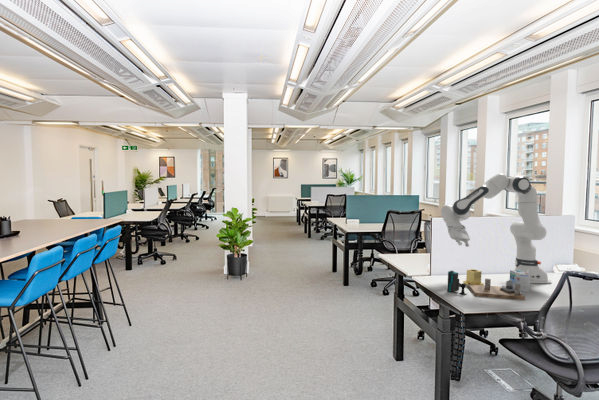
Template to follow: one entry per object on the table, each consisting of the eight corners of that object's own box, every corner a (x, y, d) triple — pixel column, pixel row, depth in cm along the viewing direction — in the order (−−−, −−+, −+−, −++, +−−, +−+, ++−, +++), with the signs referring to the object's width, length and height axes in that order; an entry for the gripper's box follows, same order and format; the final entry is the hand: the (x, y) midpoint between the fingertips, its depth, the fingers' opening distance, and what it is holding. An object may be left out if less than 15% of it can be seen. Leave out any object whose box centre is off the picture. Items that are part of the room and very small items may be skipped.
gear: (515, 289, 227) (516, 278, 227) (521, 293, 218) (522, 282, 218) (497, 287, 229) (498, 277, 229) (502, 292, 220) (503, 281, 220)
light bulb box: (508, 286, 240) (509, 269, 240) (518, 286, 241) (519, 269, 240) (519, 291, 230) (520, 274, 229) (530, 291, 230) (531, 274, 229)
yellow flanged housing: (473, 281, 249) (474, 268, 249) (486, 286, 239) (487, 272, 239) (460, 282, 246) (461, 269, 245) (473, 287, 236) (474, 273, 235)
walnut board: (513, 290, 230) (514, 277, 230) (524, 300, 213) (525, 286, 212) (467, 287, 236) (468, 274, 235) (475, 296, 218) (475, 282, 218)
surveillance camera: (464, 275, 217) (447, 271, 225) (463, 295, 218) (446, 291, 225) (468, 273, 221) (452, 270, 229) (467, 294, 222) (451, 290, 229)
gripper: (451, 223, 246) (460, 241, 239) (466, 227, 259) (475, 245, 252) (443, 227, 250) (452, 246, 243) (458, 231, 263) (467, 249, 256)
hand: (464, 245), depth 248 cm, fingers open, 8 cm apart
